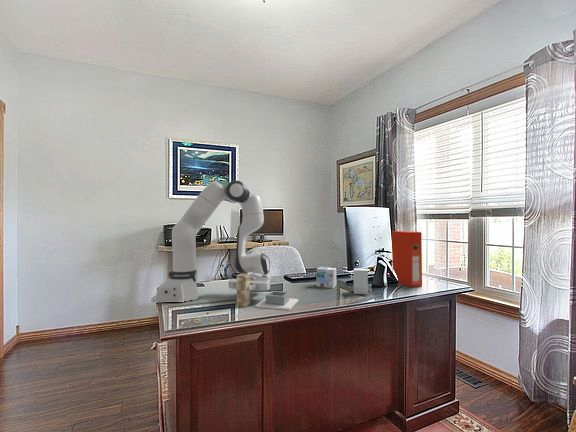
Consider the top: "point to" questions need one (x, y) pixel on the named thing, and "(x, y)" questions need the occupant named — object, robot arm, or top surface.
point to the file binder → (407, 257)
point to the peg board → (277, 301)
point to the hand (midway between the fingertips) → (242, 288)
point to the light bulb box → (326, 277)
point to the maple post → (243, 290)
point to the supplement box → (360, 281)
